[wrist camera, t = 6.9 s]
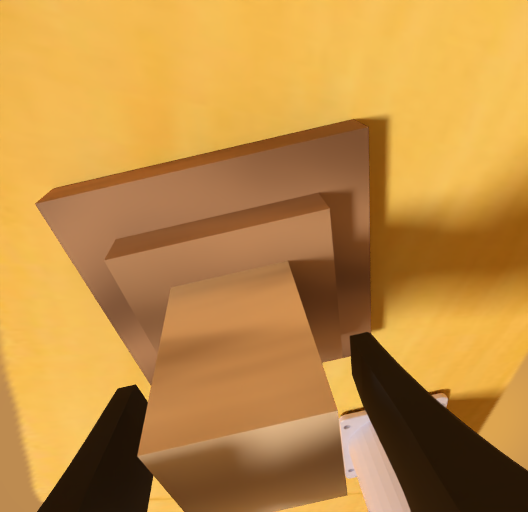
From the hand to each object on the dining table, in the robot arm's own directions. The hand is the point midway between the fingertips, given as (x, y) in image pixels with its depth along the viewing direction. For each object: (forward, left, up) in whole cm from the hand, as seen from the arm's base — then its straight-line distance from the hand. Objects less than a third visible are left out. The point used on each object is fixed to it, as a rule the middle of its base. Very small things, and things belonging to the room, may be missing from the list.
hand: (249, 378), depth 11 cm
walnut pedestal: (0, 0, -6) cm, 6 cm away
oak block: (0, 0, -3) cm, 3 cm away
